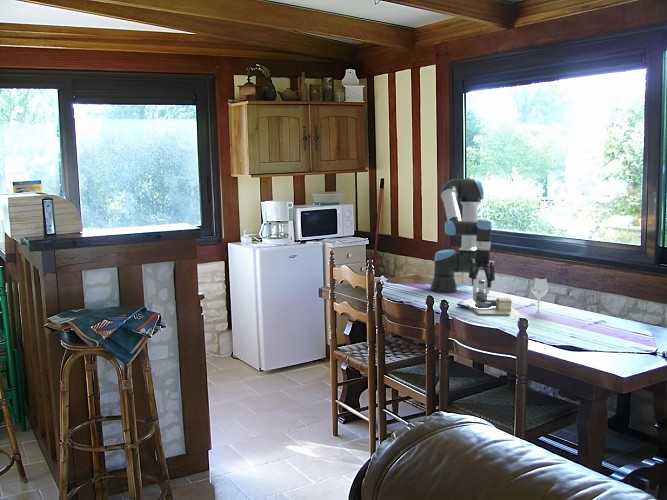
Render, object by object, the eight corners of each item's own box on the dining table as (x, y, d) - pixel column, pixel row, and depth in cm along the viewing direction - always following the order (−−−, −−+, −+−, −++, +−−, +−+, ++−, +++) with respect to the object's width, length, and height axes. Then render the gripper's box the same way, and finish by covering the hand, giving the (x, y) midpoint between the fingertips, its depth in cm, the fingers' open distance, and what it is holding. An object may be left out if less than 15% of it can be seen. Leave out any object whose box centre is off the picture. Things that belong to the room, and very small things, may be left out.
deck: (465, 304, 369) (465, 301, 368) (508, 304, 369) (508, 302, 369) (477, 317, 340) (477, 314, 340) (524, 317, 340) (524, 314, 340)
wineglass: (526, 312, 351) (528, 277, 348) (534, 310, 357) (536, 275, 354) (541, 315, 345) (544, 280, 343) (549, 313, 351) (551, 278, 349)
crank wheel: (470, 302, 368) (471, 291, 367) (503, 303, 369) (504, 292, 368) (477, 308, 354) (478, 297, 353) (511, 308, 355) (512, 297, 354)
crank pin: (477, 298, 366) (478, 279, 364) (483, 298, 366) (483, 279, 364) (478, 299, 363) (479, 280, 361) (484, 299, 363) (485, 280, 361)
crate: (495, 309, 356) (496, 297, 355) (507, 309, 356) (508, 297, 355) (498, 311, 350) (499, 300, 349) (510, 311, 350) (511, 300, 349)
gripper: (462, 247, 365) (460, 290, 368) (495, 251, 352) (493, 296, 355) (470, 246, 371) (468, 289, 374) (503, 250, 357) (501, 294, 360)
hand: (480, 292), depth 364 cm, fingers open, 7 cm apart
